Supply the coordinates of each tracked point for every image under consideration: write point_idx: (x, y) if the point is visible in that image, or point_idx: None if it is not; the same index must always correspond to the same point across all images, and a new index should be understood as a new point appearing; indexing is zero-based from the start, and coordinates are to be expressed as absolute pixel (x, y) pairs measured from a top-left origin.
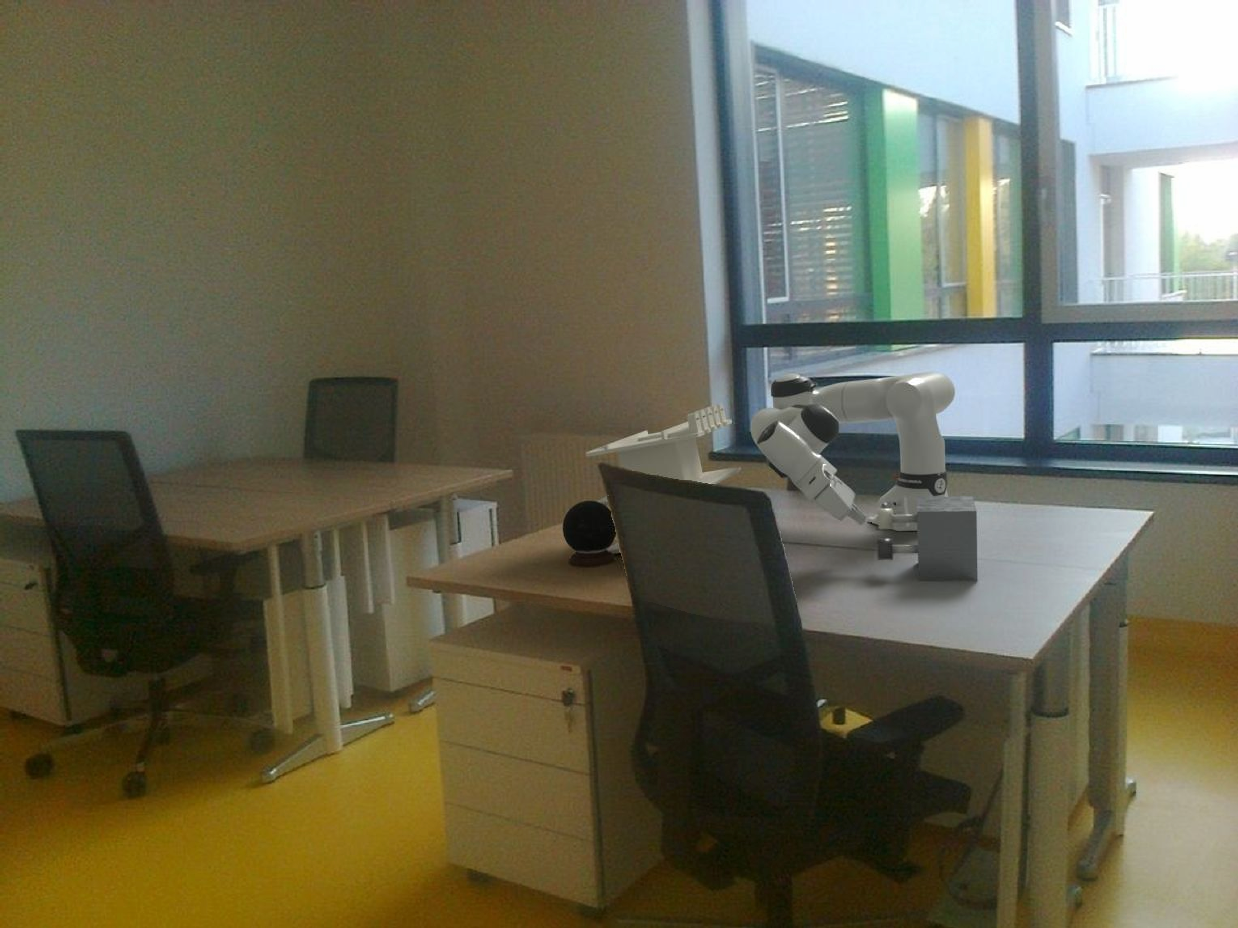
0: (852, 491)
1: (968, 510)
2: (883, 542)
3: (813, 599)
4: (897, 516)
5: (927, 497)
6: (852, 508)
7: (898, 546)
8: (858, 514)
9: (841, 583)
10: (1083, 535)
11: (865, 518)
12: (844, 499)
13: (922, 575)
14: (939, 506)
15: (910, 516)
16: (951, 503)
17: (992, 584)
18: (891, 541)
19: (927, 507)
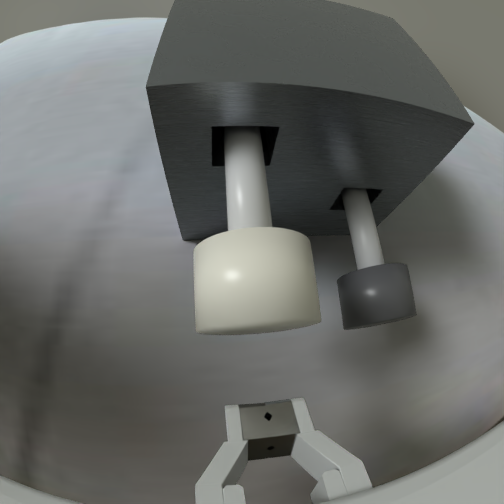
0: (1, 500)
1: (394, 24)
2: (411, 294)
3: (496, 411)
4: (267, 219)
5: (166, 55)
6: (367, 478)
7: (381, 251)
8: (325, 440)
9: (413, 407)
10: (54, 47)
11: (282, 402)
12: (501, 489)
13: None
14: (368, 48)
15: (260, 162)
16: (305, 18)
17: None
18: (404, 266)
19: (401, 77)
